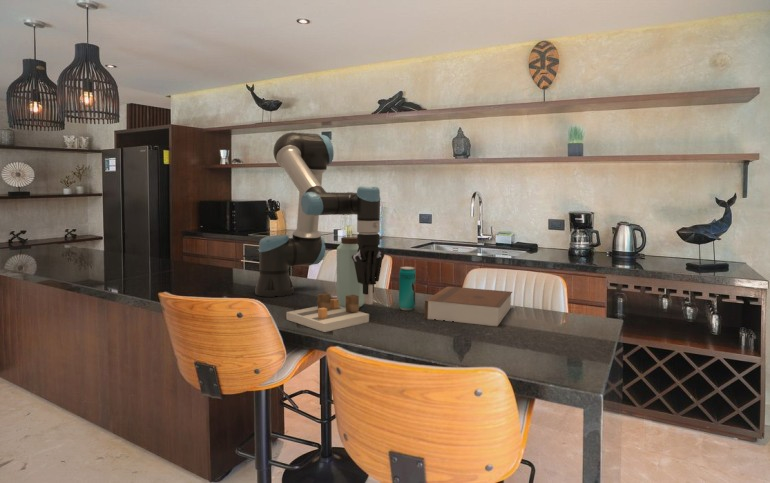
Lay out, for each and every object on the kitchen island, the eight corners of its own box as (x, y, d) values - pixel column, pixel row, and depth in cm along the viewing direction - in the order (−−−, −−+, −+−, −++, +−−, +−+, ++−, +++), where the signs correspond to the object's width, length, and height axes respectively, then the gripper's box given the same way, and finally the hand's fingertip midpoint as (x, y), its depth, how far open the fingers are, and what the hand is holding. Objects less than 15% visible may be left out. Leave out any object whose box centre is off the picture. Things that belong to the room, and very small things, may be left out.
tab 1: (317, 309, 169) (317, 294, 169) (324, 307, 172) (324, 293, 171) (323, 310, 167) (323, 295, 167) (330, 309, 169) (330, 294, 169)
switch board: (286, 319, 167) (286, 302, 166) (330, 310, 179) (330, 295, 179) (324, 332, 152) (324, 314, 152) (369, 321, 165) (369, 305, 164)
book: (424, 320, 170) (424, 300, 169) (446, 303, 196) (447, 286, 195) (498, 328, 161) (499, 307, 160) (512, 309, 186) (512, 291, 186)
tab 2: (345, 310, 167) (345, 295, 167) (352, 309, 170) (352, 294, 169) (351, 312, 165) (351, 297, 165) (358, 311, 167) (358, 296, 167)
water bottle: (351, 301, 194) (351, 236, 191) (369, 306, 187) (370, 238, 184) (330, 305, 187) (330, 237, 184) (348, 310, 180) (348, 239, 177)
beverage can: (413, 311, 180) (414, 269, 178) (397, 310, 181) (398, 268, 179) (416, 307, 185) (416, 266, 184) (400, 306, 186) (400, 266, 185)
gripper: (361, 235, 163) (361, 308, 165) (390, 233, 172) (389, 302, 174) (346, 233, 168) (346, 304, 170) (375, 231, 177) (374, 299, 179)
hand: (368, 303), depth 172 cm, fingers closed
